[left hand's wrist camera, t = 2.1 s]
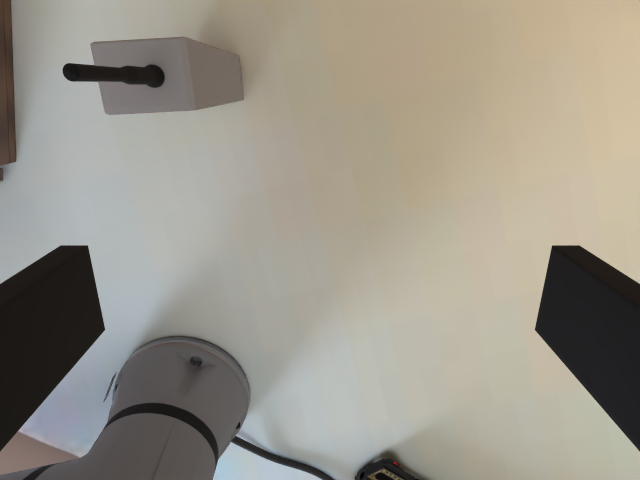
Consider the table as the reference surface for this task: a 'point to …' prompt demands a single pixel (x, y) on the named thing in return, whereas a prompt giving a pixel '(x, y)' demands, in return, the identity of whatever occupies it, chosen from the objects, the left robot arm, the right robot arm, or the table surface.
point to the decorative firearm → (384, 471)
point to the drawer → (1, 174)
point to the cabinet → (6, 87)
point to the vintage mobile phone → (160, 75)
